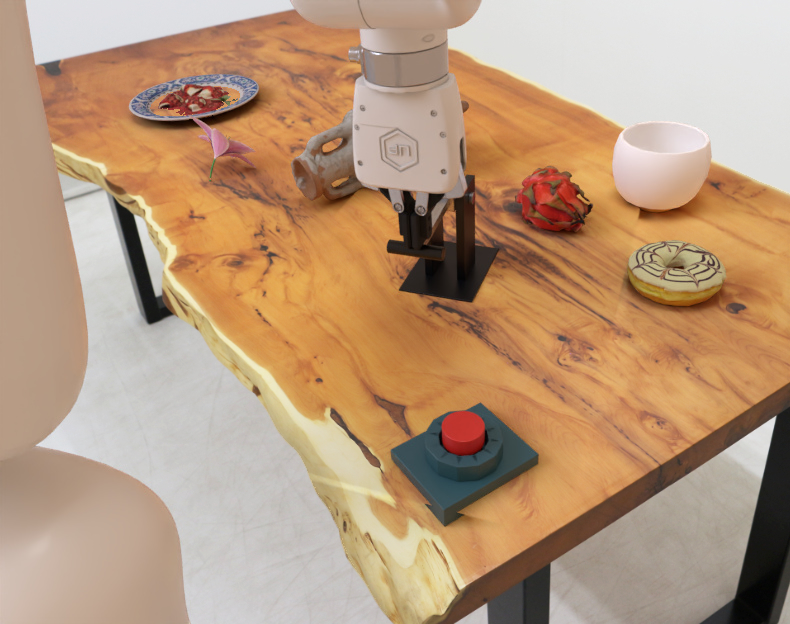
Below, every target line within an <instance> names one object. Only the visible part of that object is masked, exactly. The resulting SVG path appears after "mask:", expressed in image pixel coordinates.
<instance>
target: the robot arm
mask: <svg viewBox="0 0 790 624" xmlns="http://www.w3.org/2000/svg"><path fill="white" fill-rule="evenodd" d="M289 1H290V3H291V5H292V7H293V8H294V10H295V11H296V12H297V13H298V15H299V16H301V18H303V19H304V20H305V21H307V22H309V23H310V24H312V25H315V26H318V27H321V28H327V29H334V30H335V29H336V30H359V37H360V38H359V39H360V43H359V44H358V45H357V46H350V47H349V49H348V52H347V54H348V55H347V56H348V60H349V63H357V64H358V65H360V72H361V74H362V75H361V76H359V77H357V78H356V80H355V83H354V92H353V104H352V109H353V156H354V167H355V173H356V176H357V178H358V180H359V181H361V184H362V185H363V186H364V187H363V188H367V189H370V190H373V191H376V192H380V194H382V196H383V197H385V198H386V199H387V201H389V202H390V203H391V206H392V207H391V208H392V210H393V211H394V212H395V213H397V217H398V231H399V235H400V236H401V237H402V239H403V240H402V241H404V248H410V247H413V248H414V249H416V250H420V248H421V247H422V245H423V244H424V242H425V241H426V239H429V238H430V237H431V234H432V212H431V208H432V207H433V206H435V205H436V204H437V203H438V202H439V201H440V200H441V199H453V198H461V197H463V196H464V194H465V192H466V191H467V189H468V188H467V183H466V179H465V176H466V175H465V171H466V169H467V159H468V158H467V155H468V154H467V138H466V128H465V127H466V125H465V118H464V113H463V110H462V104H461V101H462V99H461V94H460V89H459V85H458V81H457V78H456V74H454V73H453V72H449V71H450V69H449V38H448V36H449V35H448V30H452V29H455V28H458V27H459V28H460V27H462V26H463V25H465V24H466V23H468V22H469V21H470V20H472V19H473V17H474V16H475V14H476V13H477V12H478V10H479V8H480V6H481V4H482V1H483V0H289ZM30 28H31V27H30V22H29V15H28V10H27V1H26V0H0V624H192V623H191V620H190V617H189V613H188V607H187V602H186V601H187V599H186V594H185V593H186V592H185V582H184V581H185V580H184V567H183V556H182V555H183V553H182V547H181V540H180V534H179V531H178V526H177V523H176V520H175V519H174V517H173V514H172V513H171V511H170V509H169V507H168V506H167V504H166V502H164V501H163V499H162V498H161V497H160V496H159V495H158V494H157V493H156V492H155V491H154V490H153V489H151V488H150V487H149V486H148V485H146V484H145V483H144V482H143V481H141V480H139V479H138V478H136V477H135V476H132V475H130V474H129V473H127V472H124V471H122V470H120V469H118V468H115V467H114V466H111V465H109V464H107V463H104V462H101V461H97V460H94V459H92V458H88V457H86V456H83V455H78V454H75V453H71V452H67V451H63V450H60V449H54V448H50V447H44V446H40V445H38V444H40V443H42V442H43V441H45V440H46V439H47V438H48V437H49V436H50V435H51V434H52V433H53V432H55V430H56V429H57V428H58V427H59V426H60V425H61V424H62V423H63V422H64V420H65V419H66V418H67V416H68V415H69V414H70V413H71V412H72V409H73V408H74V406H75V404H76V403H77V401H78V399H79V396H80V393H81V391H82V388H83V386H84V382H85V377H86V373H87V367H88V361H89V329H88V322H87V321H88V320H87V313H86V306H85V300H84V299H85V298H84V293H83V292H84V291H83V285H82V280H81V274H80V270H79V265H78V259H77V255H76V254H77V253H76V250H75V246H74V245H75V244H74V241H73V236H72V231H71V227H70V222H69V217H68V213H67V209H66V204H65V199H64V193H63V189H62V185H61V180H60V175H59V171H58V166H57V162H56V157H55V152H54V151H55V150H54V147H53V143H52V139H51V133H50V129H49V124H48V119H47V115H46V110H45V105H44V101H43V100H44V99H43V96H42V91H41V86H40V82H39V77H38V73H37V68H36V61H35V54H34V47H33V41H32V37H31V35H32V34H31V29H30ZM360 162H361V164H360ZM414 192H415V193H416V195H415V198H414Z"/></svg>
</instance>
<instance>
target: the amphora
mask: <svg viewBox="0 0 790 624" xmlns="http://www.w3.org/2000/svg"><path fill="white" fill-rule="evenodd" d="M461 104H462V110H463V114H464V113H466V112H467V111H468V110H469V109H470V104H469V102H468V101H466V100H461ZM337 139H341V140H340V142H339V144H338V145H337V147H335V148H334V149H331V150H328V151H324V148H323V146H325V145H326V144H328V143H331V142H332V141H335V140H337ZM304 149H305V150H303V152H302V153H301V154H299V155H298V156H295V157H294V158H293V159H292V160H291V162H290V167H291V175H292V177H293V179H294V181H295V186H296V187H297V188H298V190H299V191H300V192H301V193H302V195H303V196H304V197H305V198H307V199H308V200H309V201H314V200H317V199H319V198H321V197H322V196H324V197H325V198H326V199H327V200H336V199H340V198H343V197H345V196H348V195H350V194H354V193H356V192H357V191H358V190H359V189H363V188H365V187H364V186H363V185H362V184H361V181H359V180H358V178H357V176H356V173H355V167H354V156H353V108H352V109H350V110H349V111H347V112H346V113H345V115H344V116H343V118H342V121H341V122H340V123H339V124H337V125H335V126H332V127H330V128H328V129H326V130H323V131H322V132H320V133H318V134H315V135H313V136H311V137H310V138H309V139H308V141H307V143H306V145H305V148H304ZM360 164H361V162H360ZM346 178H347V179H346ZM342 179H346V180H344V181H342V182H341V183H340V184H337V186H334V185H333V183H334V182H336V181H338V180H342Z"/></svg>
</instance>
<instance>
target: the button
mask: <svg viewBox="0 0 790 624" xmlns="http://www.w3.org/2000/svg"><path fill="white" fill-rule="evenodd" d="M457 411H458V412H454V413H451V414H450V415H448V416H447V417H446V418H445V419H444V420H443V422H442V442H443V445H444V447H445V448H446V449H447V450H448V451H449V452H450V453H452V454H455V455H459V456H468V455H473V454H475V453H477V452H478V451H480V450H481V449H482V447H483V446H484V443H485V424H484V422H483V420H482V418H481V417H479V416H478V415H477V414H475V413H472V412H468V411H461V410H457Z"/></svg>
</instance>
